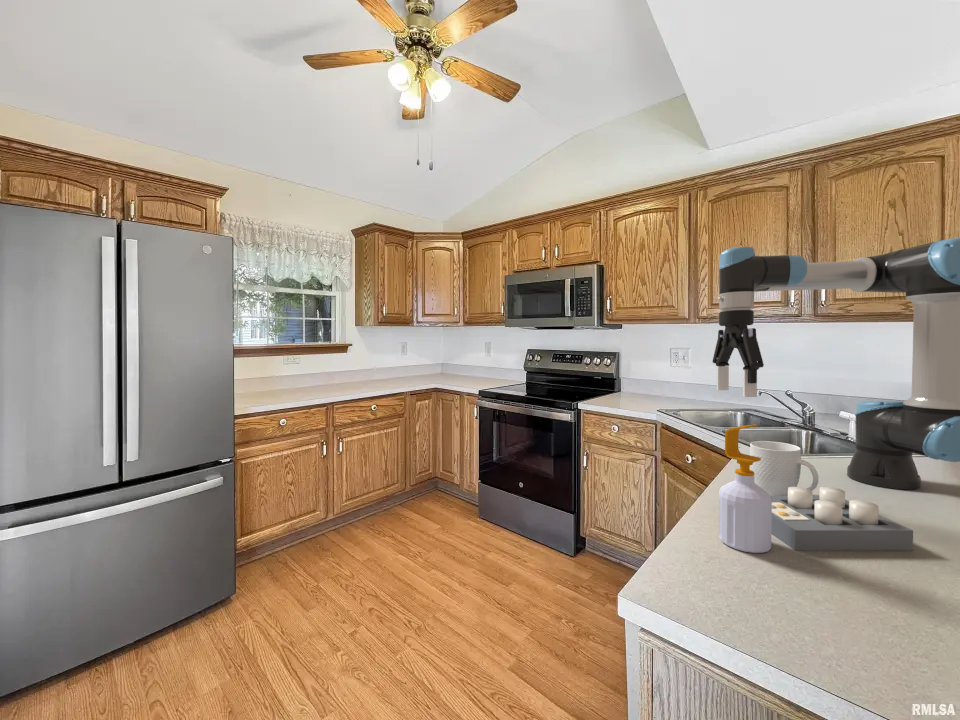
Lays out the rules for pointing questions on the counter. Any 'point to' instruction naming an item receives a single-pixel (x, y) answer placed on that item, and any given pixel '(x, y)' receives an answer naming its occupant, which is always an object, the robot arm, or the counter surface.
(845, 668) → the counter surface
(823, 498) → the button
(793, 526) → the button board
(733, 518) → the soap bottle
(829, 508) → the button
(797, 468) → the mug
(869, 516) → the button
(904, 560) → the counter surface
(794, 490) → the button
